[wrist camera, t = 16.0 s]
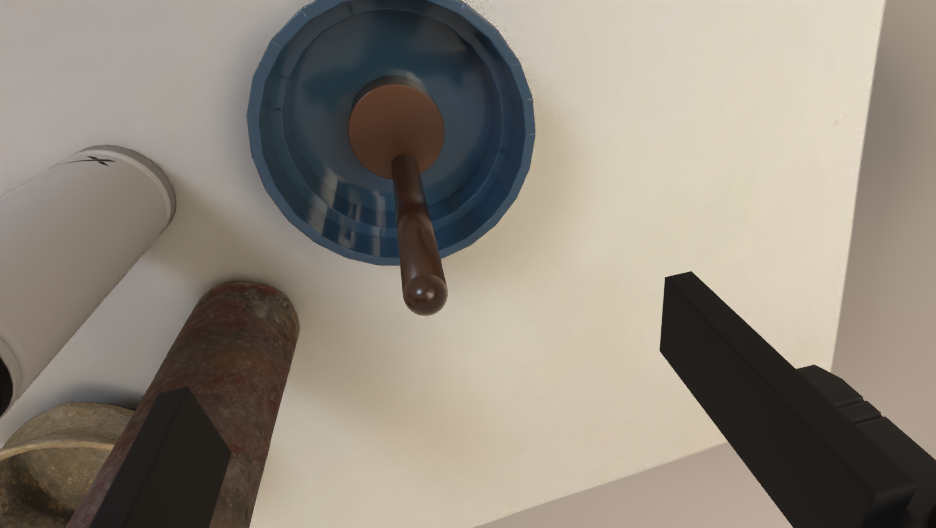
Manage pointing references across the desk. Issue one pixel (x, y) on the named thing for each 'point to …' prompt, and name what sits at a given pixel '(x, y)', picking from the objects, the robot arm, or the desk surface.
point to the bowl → (56, 462)
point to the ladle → (404, 175)
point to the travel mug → (70, 251)
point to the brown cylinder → (221, 390)
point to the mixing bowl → (329, 106)
